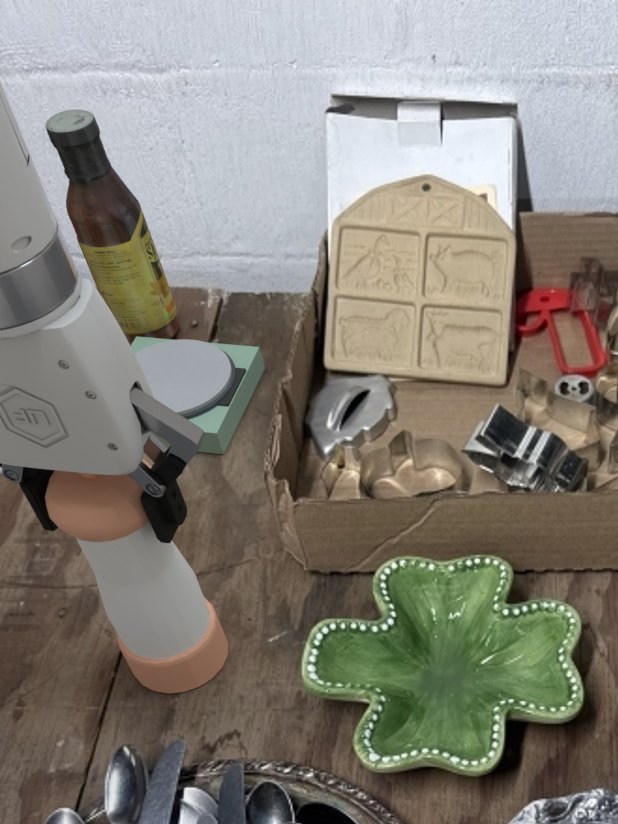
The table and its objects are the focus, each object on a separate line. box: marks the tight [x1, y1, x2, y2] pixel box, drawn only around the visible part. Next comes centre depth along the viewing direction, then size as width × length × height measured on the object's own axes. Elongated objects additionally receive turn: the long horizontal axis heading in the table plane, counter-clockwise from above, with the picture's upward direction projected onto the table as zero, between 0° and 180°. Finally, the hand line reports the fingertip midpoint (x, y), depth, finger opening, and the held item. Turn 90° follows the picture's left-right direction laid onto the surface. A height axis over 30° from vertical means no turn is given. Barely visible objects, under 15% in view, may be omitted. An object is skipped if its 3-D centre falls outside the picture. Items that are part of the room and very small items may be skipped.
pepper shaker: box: [45, 458, 229, 694], centre depth 73 cm, size 7×7×19 cm
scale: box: [131, 336, 266, 455], centre depth 96 cm, size 12×12×3 cm
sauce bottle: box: [45, 109, 180, 346], centre depth 96 cm, size 7×6×20 cm
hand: (115, 520), depth 69 cm, fingers closed on pepper shaker, 7 cm apart
